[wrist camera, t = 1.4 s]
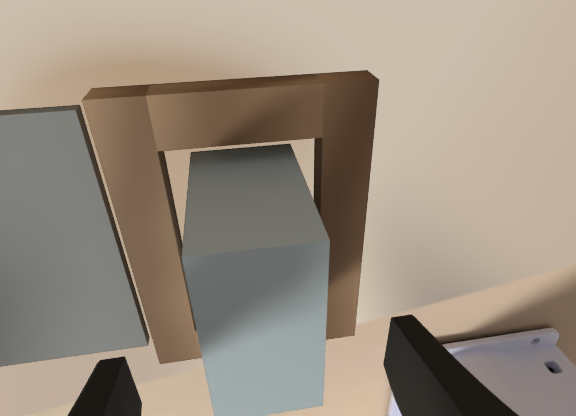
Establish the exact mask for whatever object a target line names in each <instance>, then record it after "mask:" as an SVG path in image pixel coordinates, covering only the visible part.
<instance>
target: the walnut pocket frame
mask: <svg viewBox="0 0 576 416" xmlns="http://www.w3.org/2000/svg"><path fill="white" fill-rule="evenodd" d="M378 86H379V79H378V78H376V77H375V76H373V75H372V74H371V73H370V72H368V71H367V70H365V71H349V72H334V73H319V74H303V75H289V76H273V77H257V78H242V79H227V80H211V81H196V82H181V83H165V84H150V85H135V86H119V87H104V88H92V89H91V90H90V91H89V92H88V94H87V95H86V96H85V97H84V98H83V100H82V102H83V105H84V108H85V112H86V115H87V119H88V122H89V125H90V129H91V132H92V136H93V139H94V142H95V146H96V149H97V152H98V156H99V159H100V163H101V166H102V169H103V173H104V176H105V179H106V183H107V186H108V190H109V193H110V197H111V200H112V203H113V207H114V210H115V213H116V217H117V220H118V224H119V227H120V230H121V234H122V237H123V241H124V244H125V248H126V251H127V254H128V257H129V261H130V264H131V268H132V271H133V275H134V278H135V281H136V285H137V288H138V292H139V295H140V298H141V302H142V305H143V309H144V312H145V315H146V319H147V322H148V325H149V329H150V332H151V336H152V339H153V342H154V346H155V349H156V353H157V356H158V359H159V363H160V364H164V363H170V362H177V361H184V360H191V359H198V358H202V354H201V349H200V344H199V339H198V335H197V330H196V325H195V320H194V315H193V310H192V305H191V301H190V296H189V291H188V286H187V281H186V276H185V271H184V267H183V262H182V247H183V244H182V239H181V234H180V229H179V224H178V219H177V215H176V209H175V205H174V199H173V194H172V189H171V184H170V179H169V174H168V170H167V164H166V159H165V155H164V151H169V150H181V149H192V148H204V147H214V146H215V147H216V146H227V145H240V144H251V143H263V142H273V141H274V142H275V141H286V140H298V139H310V138H315V147H314V148H315V149H314V150H315V151H314V203H315V205H316V208H317V210H318V213H319V215H320V217H321V220H322V222H323V225H324V227H325V230H326V232H327V234H328V237H329V239H330V250H329V274H328V298H327V322H326V340H327V339H334V338H340V337H347V336H354V335H355V325H356V314H357V304H358V294H359V283H360V273H361V262H362V252H363V242H364V232H365V221H366V211H367V201H368V190H369V180H370V170H371V159H372V149H373V138H374V128H375V118H376V107H377V97H378Z"/></svg>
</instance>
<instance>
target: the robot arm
mask: <svg viewBox="0 0 576 416" xmlns="http://www.w3.org/2000/svg"><path fill="white" fill-rule="evenodd" d="M559 335H560V334H559V333H558V332H557V330H556V329H554V328H545V329H539V330H532V331H526V332H519V333H513V334H506V335H500V336H493V337H487V338H480V339H474V340H467V341H461V342H455V343H448V344H441V343H440V342H439V341H438V340H437V339H436V338H435V337H434V336H433V335H432V334H431V333H430V332H429V331H428V330H427V329H426V328H425V327H424V326H423V325H422V324H421V323H420V322H419V321H418V320H417V319H416V318H415V317H414V316H413V315H405V316H399V317H392V318H391V322H390V328H389V334H388V340H387V346H386V352H385V358H384V367H385V371H386V374H387V377H388V380H389V383H390V387H391V390H392V393H391V398H390V403H389V409H388V414H387V416H576V367H575V366H574V365H573V363H572V362H571V361H570V360H569V359H568V358H567V357H566V355H565V354H564V353H563V352H562V351H561V350H560V349H559V347H558V346H557V345H556V342H557V340H558V338H559ZM141 408H142V402H141V400H140V397H139V394H138V391H137V389H136V386H135V383H134V380H133V378H132V375H131V372H130V369H129V367H128V364H127V361H126V358H125V357H119V358H112V359H105V360H100V361H99V362H98V363H97V365H96V367H95V368H94V370H93V372H92V374H91V376H90V377H89V379H88V381H87V383H86V385H85V386H84V388H83V390H82V392H81V394H80V395H79V397H78V399H77V401H76V402H75V404H74V406H73V407H72V409H71V411H70V413H69V414H68V416H141Z"/></svg>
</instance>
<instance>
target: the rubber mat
mask: <svg viewBox="0 0 576 416" xmlns="http://www.w3.org/2000/svg"><path fill="white" fill-rule="evenodd" d="M148 342H149V334H148V331H147V328H146V324H145V321H144V318H143V314H142V311H141V308H140V304H139V301H138V298H137V294H136V291H135V288H134V284H133V281H132V278H131V274H130V271H129V268H128V264H127V261H126V257H125V254H124V251H123V247H122V244H121V241H120V237H119V234H118V231H117V228H116V224H115V221H114V217H113V214H112V211H111V207H110V204H109V201H108V197H107V194H106V191H105V188H104V184H103V181H102V178H101V174H100V171H99V168H98V164H97V161H96V157H95V154H94V151H93V147H92V144H91V141H90V137H89V134H88V131H87V127H86V124H85V121H84V117H83V114H82V111H81V107H80V105H73V106H58V107H45V108H30V109H16V110H1V111H0V366H8V365H14V364H22V363H29V362H36V361H43V360H50V359H57V358H64V357H71V356H78V355H86V354H93V353H99V352H107V351H114V350H121V349H128V348H135V347H142V346H148Z"/></svg>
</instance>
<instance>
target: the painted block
mask: <svg viewBox="0 0 576 416" xmlns="http://www.w3.org/2000/svg"><path fill="white" fill-rule="evenodd" d="M329 250H330V239H329V237H328V234H327V232H326V230H325V227H324V225H323V222H322V220H321V217H320V215H319V213H318V210H317V208H316V205H315V203H314V200H313V198H312V196H311V193H310V191H309V188H308V186H307V184H306V181H305V179H304V176H303V174H302V172H301V169H300V167H299V164H298V162H297V159H296V157H295V154H294V152H293V150H292V147H291V145H290V144H279V145H267V146H257V147H244V148H232V149H222V150H209V151H198V152H191V157H190V167H189V178H188V190H187V201H186V214H185V225H184V236H183V247H182V262H183V267H184V271H185V276H186V281H187V286H188V291H189V296H190V301H191V305H192V310H193V315H194V320H195V325H196V330H197V335H198V339H199V344H200V349H201V354H202V358H203V364H204V369H205V373H206V378H207V383H208V388H209V393H210V398H211V403H212V407H213V412H214V416H264V415H270V414H276V413H282V412H288V411H294V410H300V409H306V408H312V407H318V406H323V394H324V370H325V346H326V322H327V298H328V274H329Z"/></svg>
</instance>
